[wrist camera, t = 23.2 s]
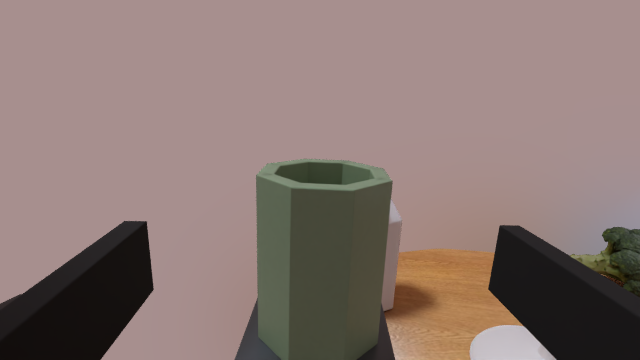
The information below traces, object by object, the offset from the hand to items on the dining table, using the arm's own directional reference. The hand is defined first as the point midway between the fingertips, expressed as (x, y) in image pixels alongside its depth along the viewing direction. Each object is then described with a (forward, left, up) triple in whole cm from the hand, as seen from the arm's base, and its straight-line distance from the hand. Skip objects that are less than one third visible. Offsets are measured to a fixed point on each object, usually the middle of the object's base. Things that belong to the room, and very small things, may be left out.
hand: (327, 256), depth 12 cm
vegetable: (+53, +45, -27) cm, 75 cm away
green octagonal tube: (0, +5, -7) cm, 9 cm away
